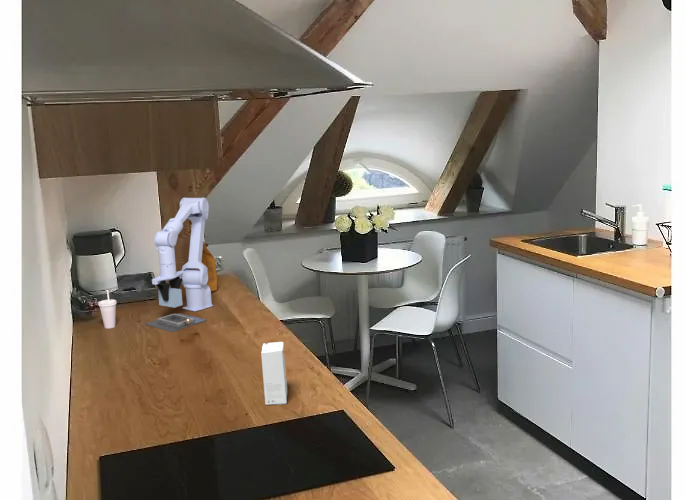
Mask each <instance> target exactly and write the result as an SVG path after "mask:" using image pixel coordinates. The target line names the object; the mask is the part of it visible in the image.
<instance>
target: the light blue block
mask: <svg viewBox="0 0 685 500" xmlns="http://www.w3.org/2000/svg"><path fill="white" fill-rule="evenodd" d="M182 291H183V290H182V289H181V288H179V289H176V288H171V287H169V301H164V300H163V298H162V295H161V293H160V291H159V289H158V288H157V293H158V306H162V307H163V306H164V307H168V308H173V309H175V308H177V307H181V306H183V305H184V304H183V293H182Z"/></svg>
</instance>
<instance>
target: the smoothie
mask: <svg viewBox="0 0 685 500" xmlns="http://www.w3.org/2000/svg"><path fill="white" fill-rule="evenodd" d="M106 294H107V295H106V296H107V299H103V300H100V301H99V302H98V303H97V304H98V306H99V308H100V314H101V318H102V321H103V326H104V329H113V328H116V315H117V313H116V312H117V311H116V308H117V300H116V299H112V298H111V299H110V292H109V290H108V289H106Z"/></svg>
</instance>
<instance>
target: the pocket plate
mask: <svg viewBox="0 0 685 500" xmlns="http://www.w3.org/2000/svg"><path fill="white" fill-rule="evenodd" d="M204 322H208V319H206V318H201V317H197V316H194V315H189V314H186V313H181V312H178V313H171V314H168V315H165V316H161V317H158V318H157V319H156V320H152V321H148V322H146V323H145V326H149V327H153V328H156V329H160V330H164V331H165V332H166V331H167V332H171V333H174V332H176V331H179V330H183V329H185V328H190V327H192V326H195V325H199V324H202V323H204Z"/></svg>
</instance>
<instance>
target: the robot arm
mask: <svg viewBox="0 0 685 500" xmlns="http://www.w3.org/2000/svg"><path fill="white" fill-rule="evenodd" d="M209 210H210V205H209V202H208V200H207V198H205V197H186V196H185V197H182V198H181V199H180V201H179V209H178V211H177V213H175V216H174V217H173V218H172V217H171V218H169V220H168V221H167V222H166V223H165V225H164V226H163V228H162V229H161V231H160V230H158V231H157V232H156V233H155V235H154V238H153V243H154V245H155V248H156V251H157V252H158V261H159V262H158V263H159V272H160V274H159V275H158V276H156V277H154V278H152V279H151V283H152V284H151V285H154V286H156V288H157V290H158V289H159V291H160V293H161V295H162V298H163V300H164V301H169V288H176V289H181V288H180V287H181V285H182V286H183V288H185V297H186V305H185V306H183V307H182V309H183V310H185V311H191V312H197V311H201V310H205V309H207V308H211V307H213V306H214V304H213V303H212V302H213V301H212V291H211V290H210V287H209V286H208V285H207V282H208V272H207V269H208V268H207V267H206V266H205V265H204V264H203V263H202V251H203V241H204V239H205V227H206V221H207V220H208V218H209ZM186 220H189V221H190V222H191V228H190V229H191V231H190V232H191V233H190V238H189V239H190V241H189V249H188V250H189V252H188V261H187V262H186V263H185V264H183V265H182V267H181V270H179V271H177V267H176V265H177V264H176V255H175V253H176V252H175V247H176V245H177V241H178V237H179V236H178V235H179V234H180V233H181V232H182V231H183V228H184V222H185V221H186ZM193 269H197V270H193Z"/></svg>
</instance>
